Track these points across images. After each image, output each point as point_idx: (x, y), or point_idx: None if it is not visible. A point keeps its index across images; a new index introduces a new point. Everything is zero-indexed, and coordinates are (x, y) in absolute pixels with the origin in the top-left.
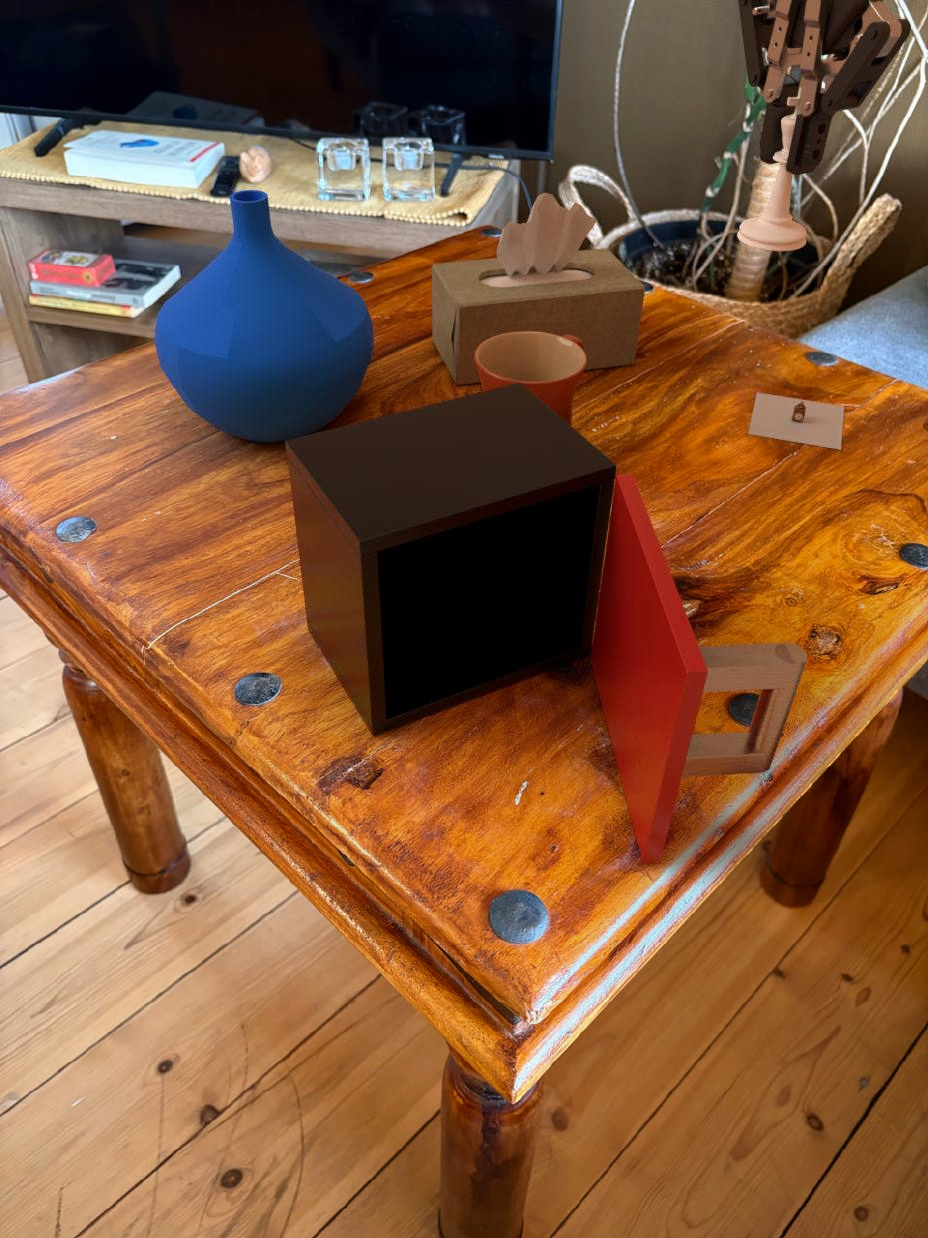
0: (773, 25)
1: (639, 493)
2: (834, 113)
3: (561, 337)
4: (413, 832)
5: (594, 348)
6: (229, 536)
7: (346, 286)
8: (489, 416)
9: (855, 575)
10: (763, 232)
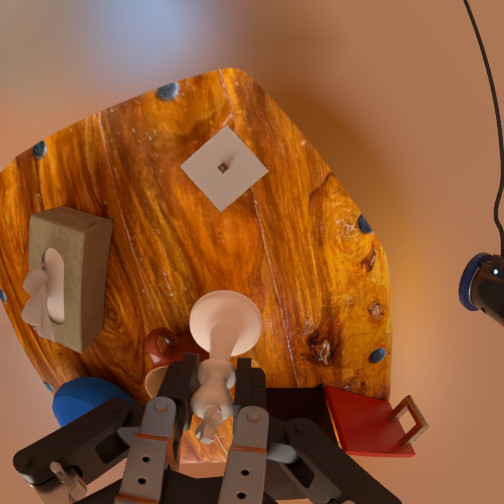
0: (78, 462)
1: (357, 451)
2: (272, 417)
3: (161, 367)
4: (338, 438)
5: (102, 255)
6: (190, 439)
7: (78, 406)
8: (278, 471)
9: (358, 265)
10: (235, 351)
